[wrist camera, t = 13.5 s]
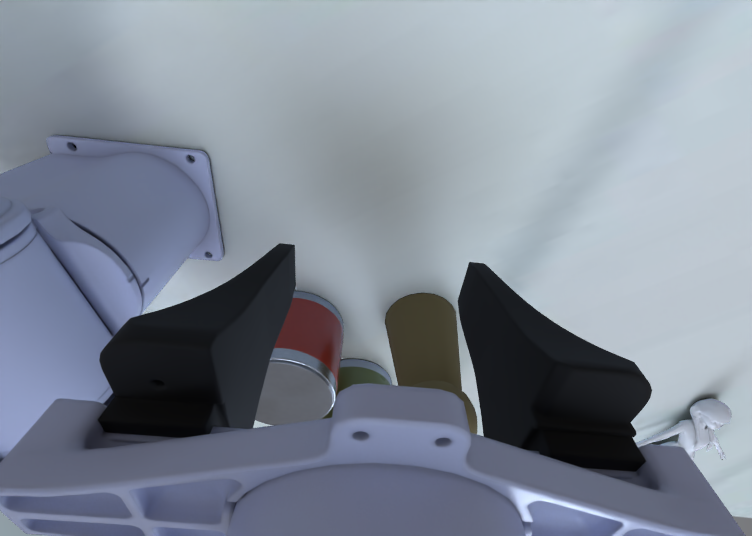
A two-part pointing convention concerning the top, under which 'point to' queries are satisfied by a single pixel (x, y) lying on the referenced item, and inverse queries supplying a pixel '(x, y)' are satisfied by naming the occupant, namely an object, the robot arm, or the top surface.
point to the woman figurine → (697, 428)
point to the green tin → (359, 376)
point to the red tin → (303, 363)
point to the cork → (427, 346)
